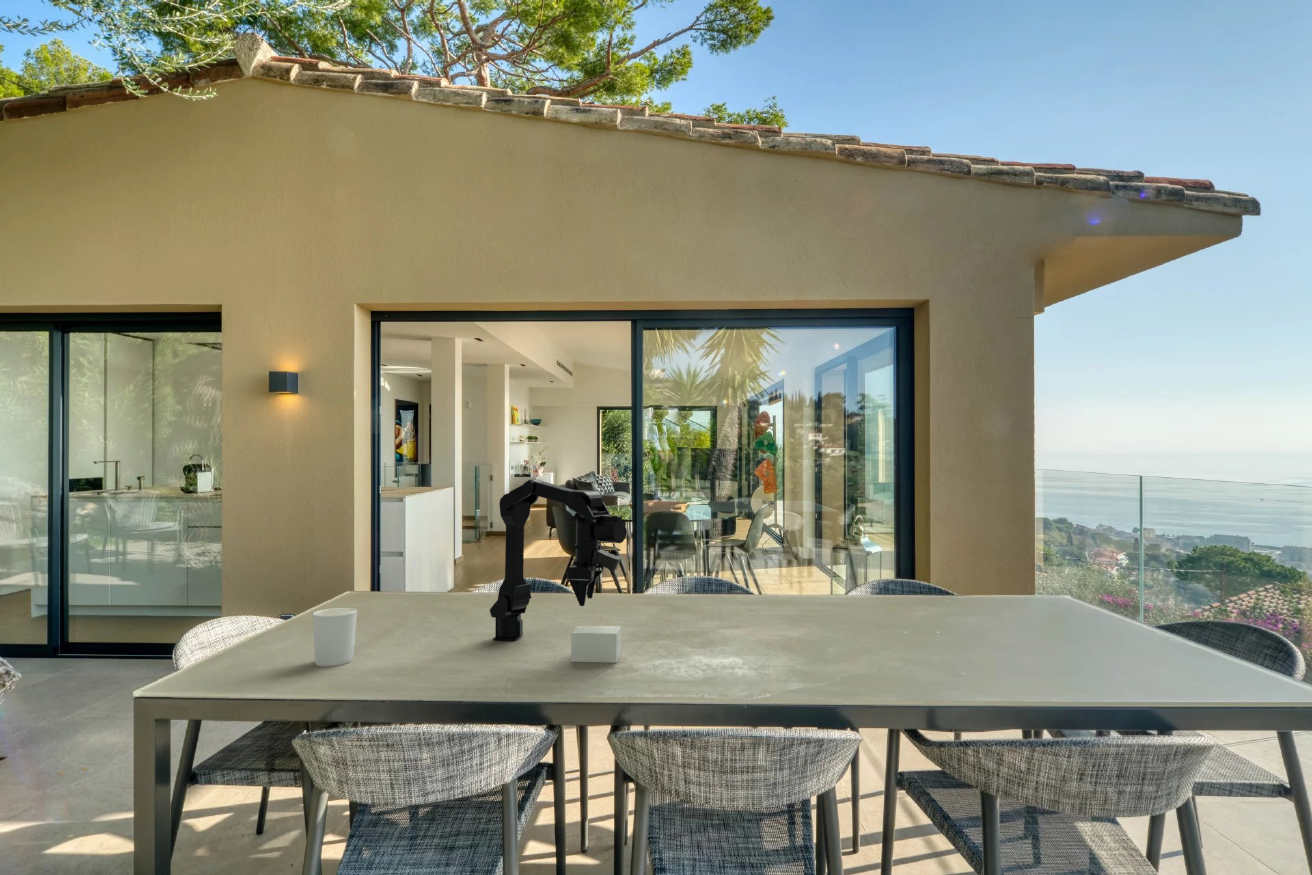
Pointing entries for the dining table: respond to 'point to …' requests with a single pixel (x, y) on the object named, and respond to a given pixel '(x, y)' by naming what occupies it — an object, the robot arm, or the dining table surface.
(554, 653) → the dining table surface
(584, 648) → the pale white box
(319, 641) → the candle holder
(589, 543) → the robot arm
